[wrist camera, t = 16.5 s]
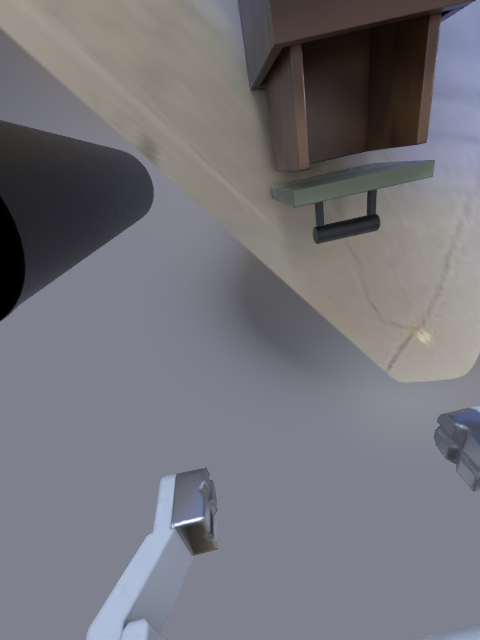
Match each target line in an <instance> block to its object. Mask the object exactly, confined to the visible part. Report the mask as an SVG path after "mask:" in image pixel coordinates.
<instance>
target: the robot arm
mask: <svg viewBox="0 0 480 640" xmlns="http://www.w3.org/2000/svg"><path fill="white" fill-rule="evenodd" d="M437 422H438V423H439V425H440V426H439V427H438V428H437V429H436V430H435V434H434V439H435V443H436V446H437V447H438V449H439V450H440V452H441V453H442V455H443V456H444V457H445V458H446V459H447V460H449V461H451V462H453V463H455V464H456V471H457V473H458V474H459V475H460V476H461V477H462V479H463V480H464V481H465V482H466V483H467V484H468V486H469V487H470V488H471V489H472V490H473V491H478V490H480V406H476V407H471V408H466V409H461V410H457V411H454V412H449V413H445V414H442V415H440V416H439V417H438V420H437ZM216 512H217V498H216V491H215V487H214V483H213V481H212V480H210V479H209V471H208V469H207V468H202V469H197V470H193V471H188V472H183V473H179V474H178V473H177V474H173V475H169V476H164V477H162V480H161V482H160V488H159V494H158V501H157V509H156V515H155V521H154V528H153V533H150V534H148V535H147V537H146V539H145V540H144V542H143V543H142V545H141V546H140V548H139V550H138V551H137V553H136V554H135V556H134V557H133V559H132V561H131V562H130V564H129V565H128V567H127V569H126V570H125V572H124V573H123V575H122V577H121V578H120V580H119V581H118V583H117V584H116V586H115V588H114V589H113V591H112V592H111V594H110V596H109V597H108V599H107V600H106V602H105V604H104V605H103V607H102V608H101V610H100V612H99V613H98V615H97V616H96V618H95V620H94V621H93V623H92V624H91V626H90V628H89V629H88V633H87V637H86V640H167V639H166V638H165V637H164V636H162V634H161V633H162V631H163V628H164V626H165V624H166V621H167V619H168V616H169V614H170V612H171V609H172V607H173V605H174V602H175V600H176V597H177V595H178V593H179V590H180V588H181V585H182V583H183V581H184V578H185V576H186V573H187V571H188V569H189V566H190V564H191V561H192V559H193V557H192V556H193V555H198V554H201V553H205V552H209V551H213V550H217V549H219V548H218V525H217V522H216V520H215V518H214V516H215V514H216ZM413 640H480V624H479V625H474V626H470V627H466V628H461V629H457V630H452V631H448V632H444V633H439V634H435V635H431V636H427V637H422V638H418V639H413Z"/></svg>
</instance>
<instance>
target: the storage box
mask: <svg viewBox="0 0 480 640" xmlns="http://www.w3.org/2000/svg"><path fill="white" fill-rule="evenodd" d="M474 1H475V0H238V5H239V13H240V20H241V27H242V35H243V42H244V49H245V56H246V64H247V71H248V78H249V86H250V90H253V89H258V88H262V87H266V79H265V76H266V75H267V73H268V71H269V70H270V68H271V66H272V65H273V63H274V61H275V60H276V58H277V57H278V55H279V53H280V52H281V50H282V48H283V47H286V46H291V45H295V44H300V43H304V42H309V41H313V40H318V39H322V38H327V37H331V36H336V35H340V34H345V33H349V32H354V31H358V30H363V29H367V28H372V27H376V26H381V25H385V24H389V23H394V22H398V21H403V20H407V19H412V18H416V17H421V16H425V15H430V14H434V13H439V12H442V16H441V22H442V21H444V20H445V19H447V18H448V17H450V16H452V15H453V14H455V13H456V12H458V11H459V10H461V9H463V8H464V7H466V6H467V5H469V4H470V3H472V2H474Z"/></svg>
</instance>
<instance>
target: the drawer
mask: <svg viewBox="0 0 480 640" xmlns="http://www.w3.org/2000/svg"><path fill="white" fill-rule="evenodd" d="M441 16H442V12H439V13H434V14H430V15H425V16H421V17H416V18H412V19H407V20H403V21H398V22H394V23H389V24H385V25H381V26H376V27H372V28H367V29H363V30H358V31H354V32H349V33H345V34H340V35H336V36H331V37H327V38H322V39H318V40H313V41H309V42H304V43H300V44H295V45H291V46H286V47H283V48H282V50H281V52H280V53H279V55H278V57H277V58H276V60H275V61H274V63H273V65H272V66H271V68H270V70H269V71H268V73H267V75H266V76H265V79H266V88H267V97H268V106H269V114H270V123H271V132H272V141H273V149H274V158H275V167H276V171H301V170H306V169H309V164H312V163H316V162H321V161H325V160H330V159H334V158H339V157H343V156H348V155H352V154H357V153H361V152H366V151H372V150H380V149H388V148H395V147H403V146H411V145H418V144H423V143H426V142H427V135H428V127H429V118H430V110H431V101H432V93H433V84H434V76H435V67H436V59H437V50H438V41H439V33H440V24H441ZM434 163H435V160H424V161H405V162H386V163H373V164H368V165H364V166H359V167H355V168H351V169H346V170H342V171H337V172H333V173H328V174H324V175H319V176H315V177H310V178H306V179H301V180H297V181H292V182H288V183H283V184H279V185H274V186H271V194H272V198H273V199H276V200H278V201H280V202H283V203H285V204H288V205H290V206H293V207H299V206H303V205H308V204H312V203H315V214H316V226H317V227H314V228H313V238H314V241H315V243H316V244H319V243H323V242H328V241H332V240H337V239H341V238H346V237H350V236H355V235H359V234H364V233H368V232H373V231H377V230H378V229H379V227H380V218H379V216H378V215H377V214H376V194H377V189H380V188H384V187H389V186H393V185H398V184H402V183H406V182H411V181H415V180H420V179H424V178H429V177H432V176H433V170H434ZM366 191H368V193H367V215H366V216H362V217H357V218H353V219H348V220H344V221H339V222H335V223H331V224H326V225H324V214H323V201H326V200H330V199H335V198H339V197H344V196H348V195H353V194H357V193H362V192H366Z"/></svg>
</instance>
